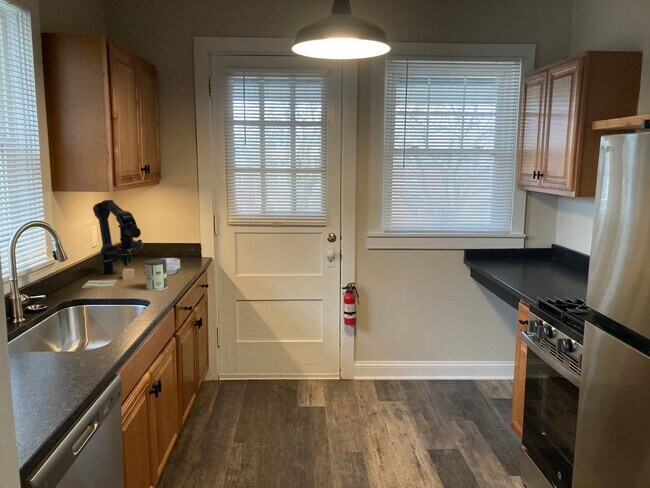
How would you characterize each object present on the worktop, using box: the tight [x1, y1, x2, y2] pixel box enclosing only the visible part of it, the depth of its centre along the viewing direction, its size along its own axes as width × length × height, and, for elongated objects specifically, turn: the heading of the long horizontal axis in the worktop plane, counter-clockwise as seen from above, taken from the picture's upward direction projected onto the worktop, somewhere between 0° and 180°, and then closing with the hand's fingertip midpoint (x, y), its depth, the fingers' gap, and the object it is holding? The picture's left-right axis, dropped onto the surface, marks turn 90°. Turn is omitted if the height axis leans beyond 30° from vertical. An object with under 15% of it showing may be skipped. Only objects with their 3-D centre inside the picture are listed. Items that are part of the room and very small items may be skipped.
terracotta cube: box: [122, 268, 135, 281], centre depth 282 cm, size 5×5×5 cm
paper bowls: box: [162, 257, 181, 276], centre depth 294 cm, size 15×15×8 cm
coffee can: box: [144, 258, 168, 292], centre depth 260 cm, size 10×10×14 cm
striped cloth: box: [81, 278, 118, 289], centre depth 269 cm, size 14×14×1 cm
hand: (127, 264), depth 281 cm, fingers open, 9 cm apart
